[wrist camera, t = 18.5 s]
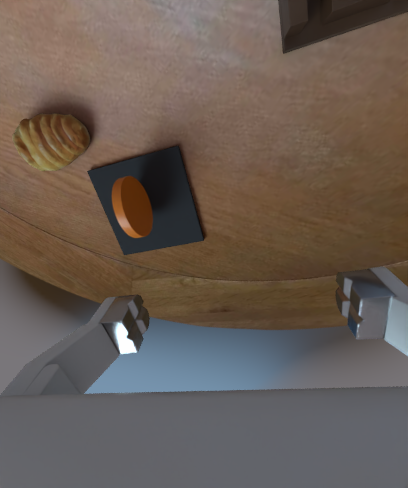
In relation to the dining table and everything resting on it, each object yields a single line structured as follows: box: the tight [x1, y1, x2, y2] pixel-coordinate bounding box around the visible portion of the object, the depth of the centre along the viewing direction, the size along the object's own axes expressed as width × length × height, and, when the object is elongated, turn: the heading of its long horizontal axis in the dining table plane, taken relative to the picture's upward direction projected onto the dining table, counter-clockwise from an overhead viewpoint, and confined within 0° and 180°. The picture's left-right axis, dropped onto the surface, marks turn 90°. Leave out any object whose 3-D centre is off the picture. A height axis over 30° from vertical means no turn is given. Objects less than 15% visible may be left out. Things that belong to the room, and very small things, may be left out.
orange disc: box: [112, 176, 153, 238], centre depth 30 cm, size 8×1×8 cm, turn 14°
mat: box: [87, 146, 204, 255], centre depth 34 cm, size 14×14×1 cm
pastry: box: [12, 113, 90, 171], centre depth 30 cm, size 9×7×4 cm
